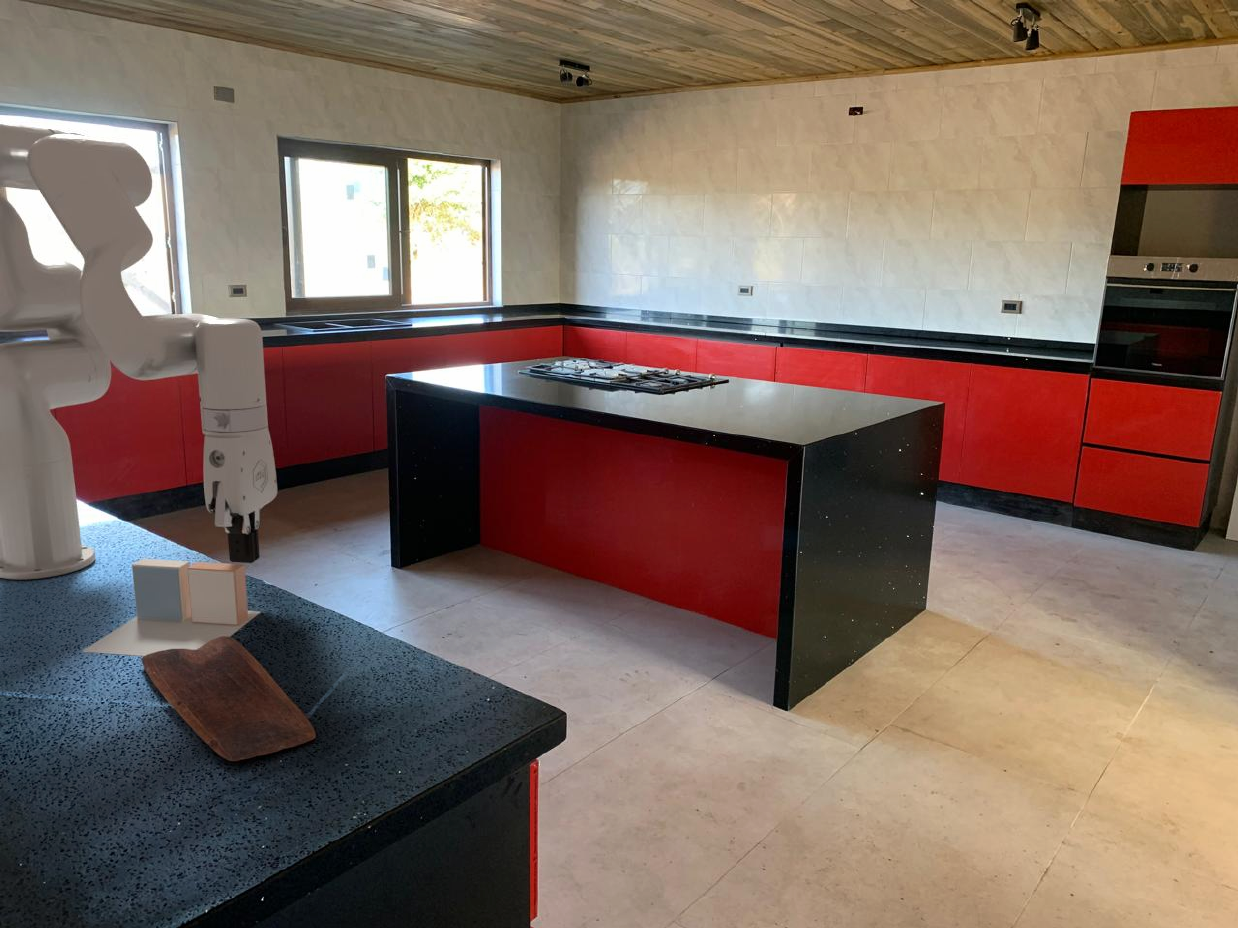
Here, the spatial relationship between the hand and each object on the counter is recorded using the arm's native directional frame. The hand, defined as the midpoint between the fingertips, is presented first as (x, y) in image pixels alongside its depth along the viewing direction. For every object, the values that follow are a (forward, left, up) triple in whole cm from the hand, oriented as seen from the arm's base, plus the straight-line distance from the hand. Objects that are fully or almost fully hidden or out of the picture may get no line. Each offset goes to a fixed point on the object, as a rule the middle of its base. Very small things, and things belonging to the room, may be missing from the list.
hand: (244, 560), depth 116 cm
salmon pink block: (0, -7, -5) cm, 9 cm away
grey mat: (-4, -10, -6) cm, 12 cm away
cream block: (-7, -7, -5) cm, 11 cm away
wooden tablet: (+10, -25, -6) cm, 28 cm away
